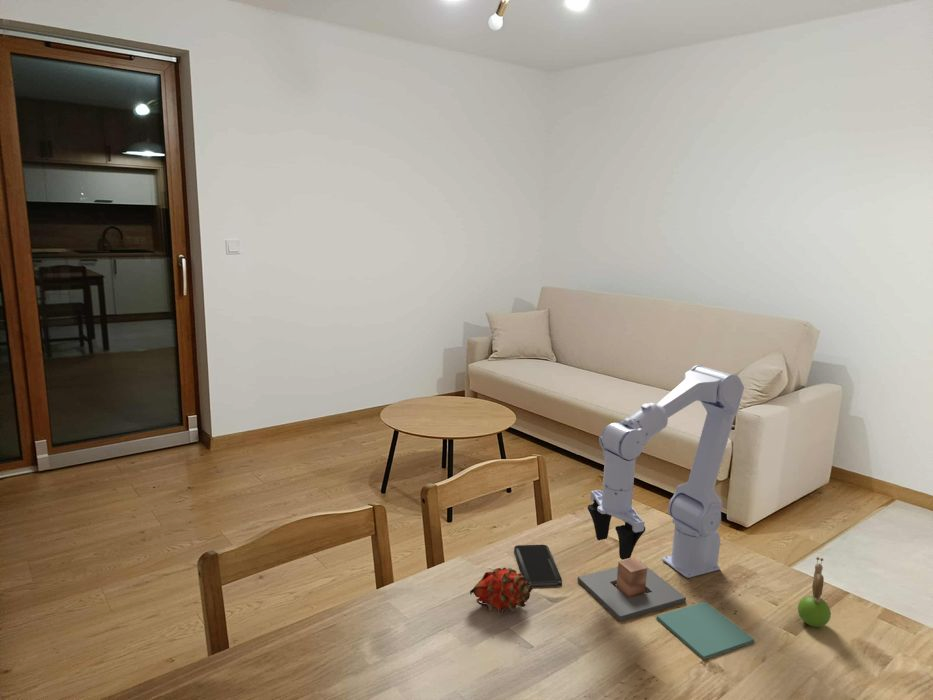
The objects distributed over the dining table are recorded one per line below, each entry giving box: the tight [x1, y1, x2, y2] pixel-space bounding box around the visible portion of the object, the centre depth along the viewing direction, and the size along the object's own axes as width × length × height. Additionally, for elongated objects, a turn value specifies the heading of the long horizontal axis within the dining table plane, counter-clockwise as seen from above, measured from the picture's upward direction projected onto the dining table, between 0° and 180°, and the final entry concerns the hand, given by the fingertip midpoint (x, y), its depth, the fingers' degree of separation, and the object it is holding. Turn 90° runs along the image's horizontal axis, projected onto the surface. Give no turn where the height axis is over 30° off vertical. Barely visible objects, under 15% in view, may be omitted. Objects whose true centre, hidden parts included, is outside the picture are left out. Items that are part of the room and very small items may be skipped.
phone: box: [513, 544, 563, 588], centre depth 135 cm, size 8×1×15 cm
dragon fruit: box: [469, 567, 533, 615], centre depth 120 cm, size 8×8×12 cm
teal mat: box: [656, 601, 755, 660], centre depth 116 cm, size 12×12×1 cm
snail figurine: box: [797, 557, 832, 628], centre depth 118 cm, size 5×6×12 cm
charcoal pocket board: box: [577, 560, 687, 622], centre depth 127 cm, size 16×14×1 cm
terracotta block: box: [615, 557, 648, 598], centre depth 127 cm, size 4×4×6 cm
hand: (613, 548), depth 125 cm, fingers open, 7 cm apart
